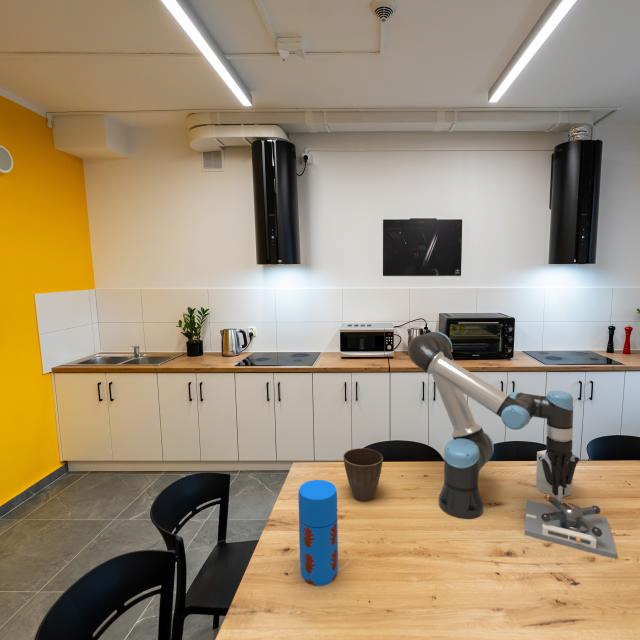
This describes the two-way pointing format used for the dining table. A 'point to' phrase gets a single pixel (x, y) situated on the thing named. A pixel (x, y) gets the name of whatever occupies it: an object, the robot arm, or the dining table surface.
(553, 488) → the robot arm
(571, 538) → the stand
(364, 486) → the plant pot
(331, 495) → the thermos
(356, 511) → the dining table surface
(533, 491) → the dining table surface
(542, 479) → the supplement box
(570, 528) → the capstan
